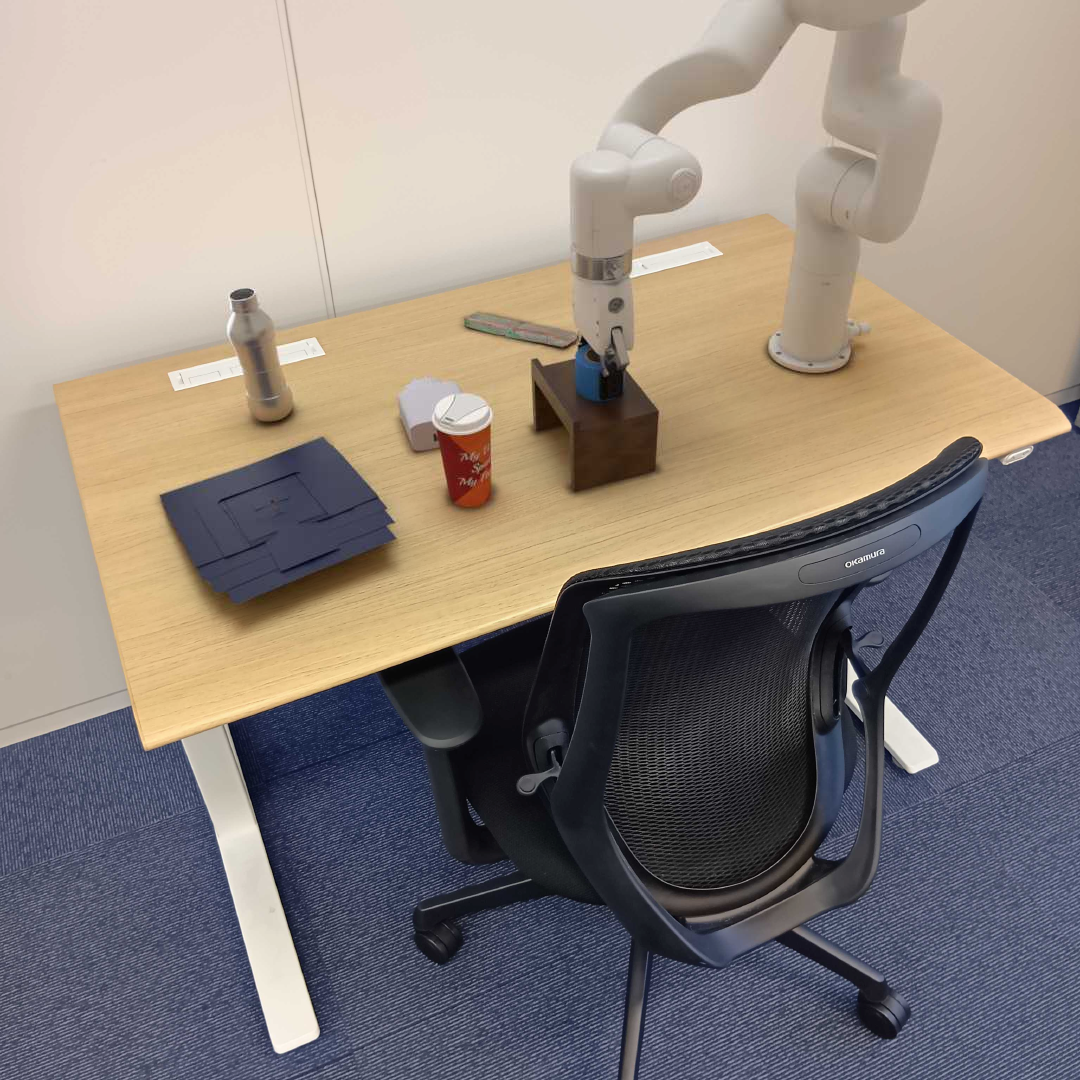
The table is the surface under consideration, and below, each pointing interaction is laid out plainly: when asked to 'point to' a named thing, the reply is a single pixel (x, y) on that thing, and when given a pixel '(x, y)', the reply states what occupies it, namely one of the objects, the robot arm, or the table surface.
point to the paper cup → (465, 447)
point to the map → (520, 329)
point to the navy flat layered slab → (277, 520)
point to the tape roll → (590, 372)
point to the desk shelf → (596, 425)
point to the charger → (423, 409)
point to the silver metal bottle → (258, 357)
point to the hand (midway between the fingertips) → (600, 381)
